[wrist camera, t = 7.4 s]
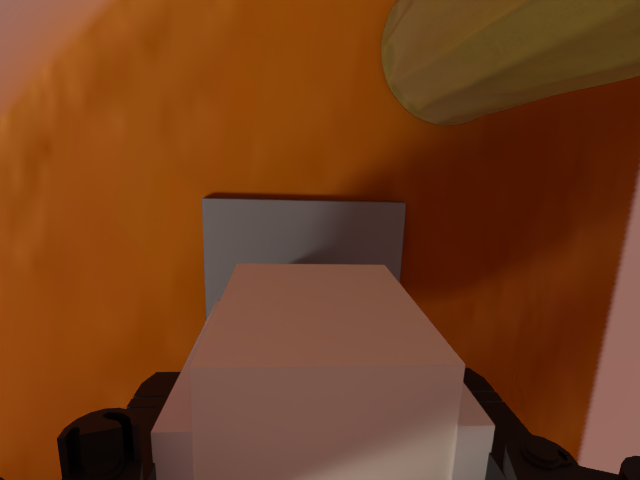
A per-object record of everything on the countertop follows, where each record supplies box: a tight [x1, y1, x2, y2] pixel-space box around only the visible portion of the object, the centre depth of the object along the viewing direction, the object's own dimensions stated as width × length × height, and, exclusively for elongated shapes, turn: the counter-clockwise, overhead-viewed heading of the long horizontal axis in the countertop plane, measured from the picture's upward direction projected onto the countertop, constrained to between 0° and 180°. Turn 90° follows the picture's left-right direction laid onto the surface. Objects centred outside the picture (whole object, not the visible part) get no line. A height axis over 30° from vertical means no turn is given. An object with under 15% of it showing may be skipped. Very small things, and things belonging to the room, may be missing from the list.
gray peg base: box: [202, 198, 406, 321], centre depth 15 cm, size 9×9×7 cm
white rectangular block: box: [189, 263, 465, 480], centre depth 11 cm, size 5×5×7 cm
